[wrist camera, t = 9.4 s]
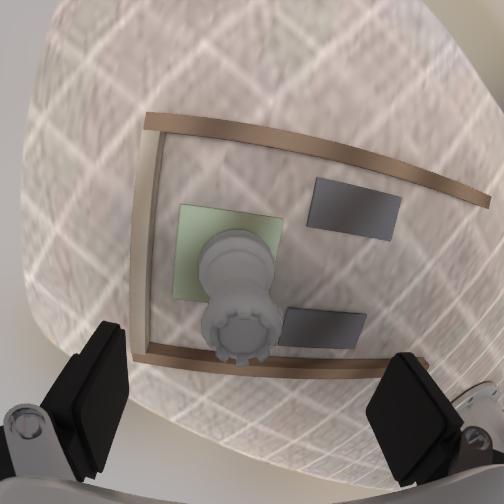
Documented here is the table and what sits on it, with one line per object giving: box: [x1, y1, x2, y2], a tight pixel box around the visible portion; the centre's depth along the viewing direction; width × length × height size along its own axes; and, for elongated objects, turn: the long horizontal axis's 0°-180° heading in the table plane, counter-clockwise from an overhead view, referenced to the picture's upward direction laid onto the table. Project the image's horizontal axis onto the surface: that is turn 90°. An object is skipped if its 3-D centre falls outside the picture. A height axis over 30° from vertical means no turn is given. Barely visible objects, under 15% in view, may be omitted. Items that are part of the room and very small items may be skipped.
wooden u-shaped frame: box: [129, 112, 491, 379], centre depth 19 cm, size 24×16×2 cm, turn 80°
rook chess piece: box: [199, 230, 283, 367], centre depth 15 cm, size 4×4×8 cm
